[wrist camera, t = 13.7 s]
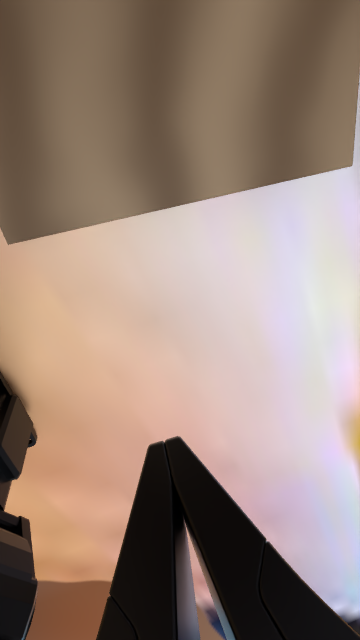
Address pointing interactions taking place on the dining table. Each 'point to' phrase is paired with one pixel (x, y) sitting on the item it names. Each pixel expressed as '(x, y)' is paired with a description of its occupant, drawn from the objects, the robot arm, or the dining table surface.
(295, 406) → the dining table surface
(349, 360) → the dining table surface
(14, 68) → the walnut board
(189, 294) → the dining table surface
